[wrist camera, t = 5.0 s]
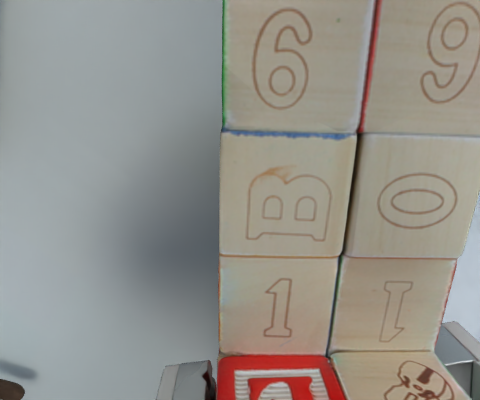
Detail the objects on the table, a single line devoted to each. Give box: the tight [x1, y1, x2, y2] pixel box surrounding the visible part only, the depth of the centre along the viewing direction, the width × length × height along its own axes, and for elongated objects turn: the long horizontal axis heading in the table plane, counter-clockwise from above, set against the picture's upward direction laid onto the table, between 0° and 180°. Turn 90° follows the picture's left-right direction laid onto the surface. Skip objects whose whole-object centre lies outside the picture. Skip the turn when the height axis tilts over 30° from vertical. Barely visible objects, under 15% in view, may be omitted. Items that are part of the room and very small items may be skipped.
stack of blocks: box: [216, 0, 480, 400], centre depth 12 cm, size 21×6×12 cm, turn 178°
